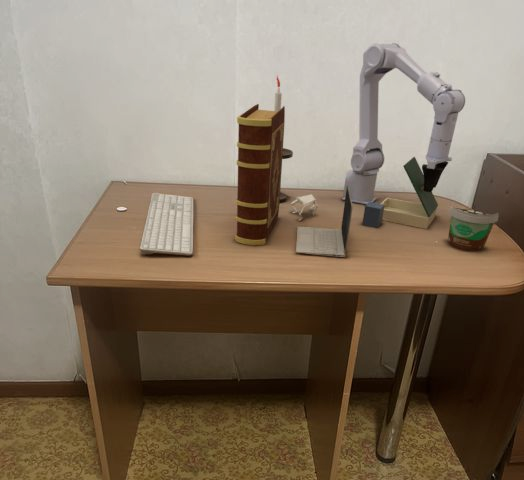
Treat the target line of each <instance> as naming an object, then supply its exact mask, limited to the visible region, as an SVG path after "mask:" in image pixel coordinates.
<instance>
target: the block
mask: <svg viewBox="0 0 524 480" xmlns="http://www.w3.org/2000/svg"><path fill="white" fill-rule="evenodd" d="M384 206H385V205H384V204H381V203H379V202H378V203H377V202H369V203H368V204H365V205H364V211H363V215H362V216H363V217H362V223H361V224H362V226H367V227H371V228H378V227H379V226H380V225H381V224H382V222H383V220H382V218H383V212H384Z"/></svg>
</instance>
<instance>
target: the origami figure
mask: <svg viewBox="0 0 524 480" xmlns="http://www.w3.org/2000/svg"><path fill="white" fill-rule="evenodd" d="M298 202H299V203H300V204H301V205H302V208H301V210H300V211H298V210H297V209H296V207H295V206H294V205H295V204H297V203H298ZM289 205H290V206H291V207H292V208H293V209H294V211H293V212H292V211H291V212H292V214H296V213H298V212H299V213H298V215H299V216H300V217H301V218H299V219H298V222H299V221H302V219H304V217H303V215H302V213H303V211H304V209H305V207H307V206H310V205H312V206H311V207H310V208H309V210H310V211H311V212H312V216H315V214H314V213H315V212H316V210H317V209H318V208H319V205H318V203H317V199H316V198H315V196H314V195H313V194H311V193H310V194H307V195H302V196H295V199H294V200H293V201H292V202H290V203H289ZM314 207H315V208H314ZM313 208H314V210H313Z"/></svg>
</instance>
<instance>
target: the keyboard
mask: <svg viewBox="0 0 524 480" xmlns="http://www.w3.org/2000/svg"><path fill="white" fill-rule="evenodd" d="M139 249H140V251H141V254H143V255H153V254H166V255H177V256H178V255H179V256H189V257H190V256H192V255H193V253H194V252H193V251H194V197H192V196H186V195H185V196H184V195H175V194H165V193H159V192H152V194H151V199H150V203H149V207H148V212H147V216H146V221H145V225H144V229H143V233H142V238H141V243H140V246H139Z"/></svg>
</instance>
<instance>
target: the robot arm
mask: <svg viewBox="0 0 524 480" xmlns="http://www.w3.org/2000/svg"><path fill="white" fill-rule="evenodd" d="M362 60H363V61H362V67H361V69H360V73H359V113H358V114H359V120H358V121H359V123H358V124H359V125H358V127H359V128H358V129H359V130H358V131H359V132H358V135H359V136H358V137H359V138H358V141H357V142H356V143H355V145H354V146H353V148H352V155H351V157H350V166H351V169H349V170H348V171H347V173H346V175H345V179H344V186H343V194H342V198H341V200H342V201H345V197H346V189H347V185H348V187H349V192H350V197H351V202H352V203H357V204H363V205H367V204H368V203H369V202H373V203H375V201H376V200H377V199H378V197H377V196H374V195H375V189H376V184H377V177H378V173H379V171H380V169H381V168H382V167H383V165H384V163H385V155H384V152H383V144H382V142H381V141H380V140H379V139H378V136H379V135H378V133H379V132H378V131H379V130H378V129H379V89H380V88H379V87H380V84H379V83H380V81H381V80H382V79H383V78H384V76H385V75H386V74H389V72H391V71H393V70H394V69H397V70H399V71H400V72H401V73H402V74H404V75H405V76H406V77H407V78H409V79H410V80H411V81H413V83H415V84H416V85H417V86H416V90H417V92H418V93H419V94H420V95H421V96H423V97H424V99H426V100H427V101H428V102H429V103H430V104H431V105H432V108H433V112H434V117H433V124H432V129H431V134H430V138H429V143H428V148H427V152H426V154H425V159H426V163H427V164H425V163H423V164H422V165H421V171H422V173H423V175H424V191H425V192H432V193H433V190H434V189H435V188H436V187H437V185H438V183H439V181H440V179H441V176H442V174H443V172H444V170H445V169H446V167H447V166H448V165H449V162H452V161H453V157H451V156H449V155H450V150H451V146H452V141H453V137H454V134H455V129H456V125H457V122H458V117H459V113H460V112H461V111H462V110H463V109H464V107H465V105H466V96H465V94H464V93H463V91H462V90H461V89H453V86H452V84H450V83H446V82H445V81H444V80H443V79H442V78H441V74H440V73H439V72H438V71H437V72H433V71H429V72H427V71H425V70H424V68H423V67H422V66H420V65H419V64H418V62H416V60H414V58H412V57H411V55H409V54H408V52H407V50H406V48H404V47H402V46H401V45H400V44H399V43H395V42H394V43H393V42H392V43H378V42H375V43H372V44H370V45H368V47H367V48H366V50H365V51H364V52H363V54H362Z"/></svg>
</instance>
